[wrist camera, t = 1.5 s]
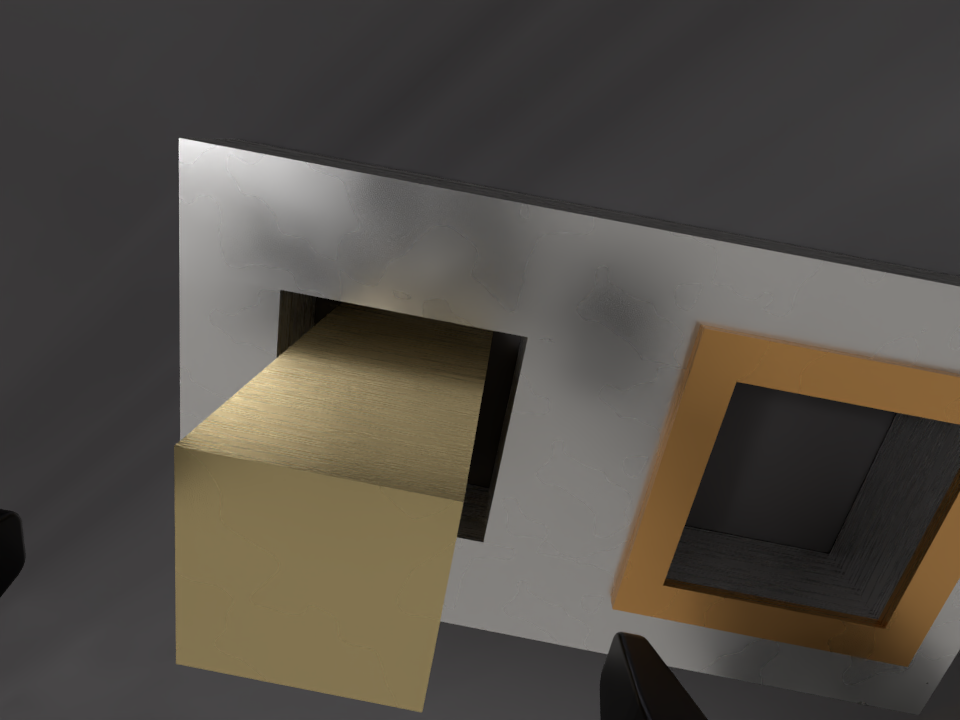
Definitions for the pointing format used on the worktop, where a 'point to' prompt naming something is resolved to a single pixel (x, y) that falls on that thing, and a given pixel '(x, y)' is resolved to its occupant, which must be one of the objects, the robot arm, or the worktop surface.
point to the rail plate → (617, 406)
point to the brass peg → (331, 508)
